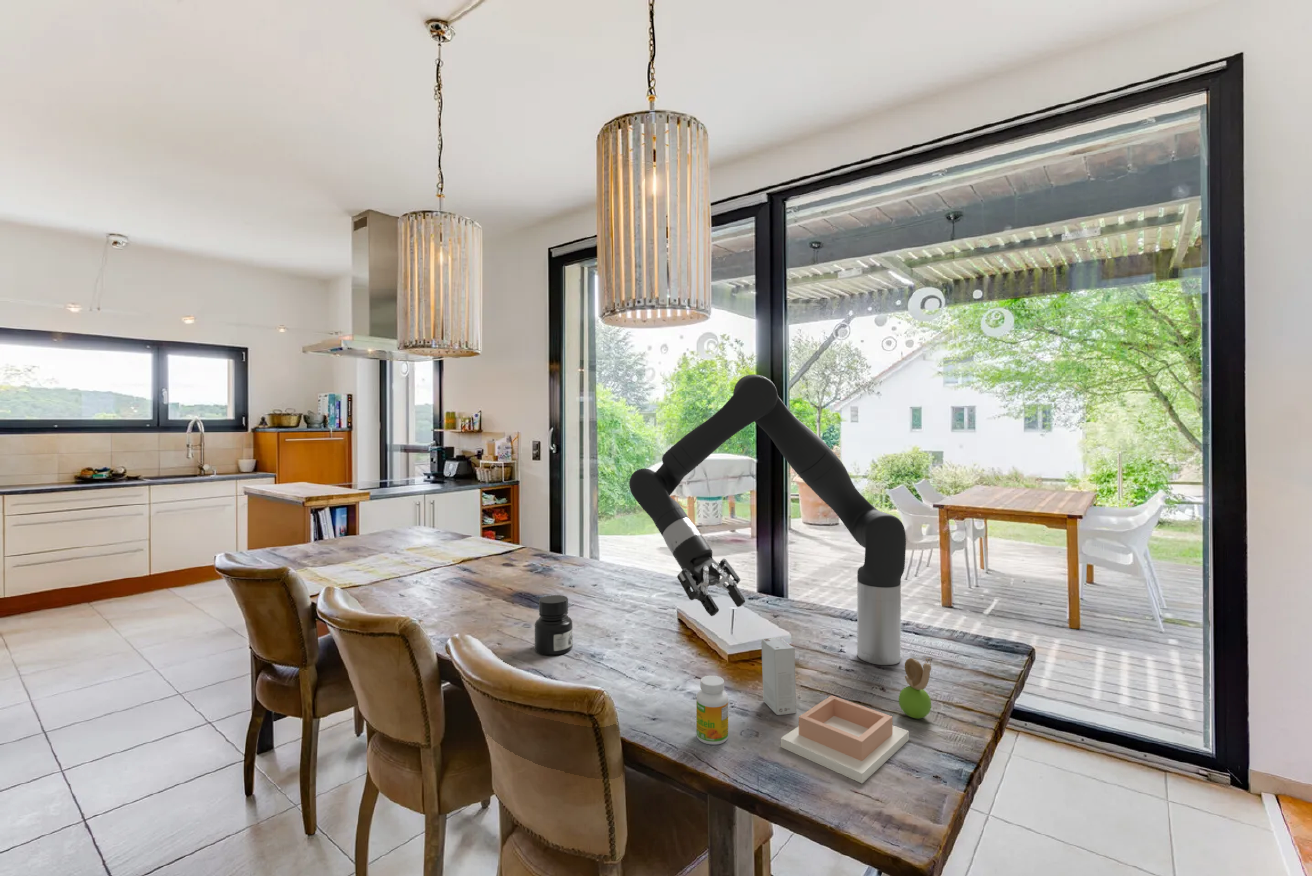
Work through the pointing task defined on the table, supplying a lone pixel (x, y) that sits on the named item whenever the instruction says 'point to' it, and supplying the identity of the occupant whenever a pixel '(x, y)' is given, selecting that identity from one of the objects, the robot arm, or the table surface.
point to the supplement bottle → (712, 711)
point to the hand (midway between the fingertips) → (729, 609)
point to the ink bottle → (553, 626)
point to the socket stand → (845, 738)
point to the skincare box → (779, 675)
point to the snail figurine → (916, 689)
